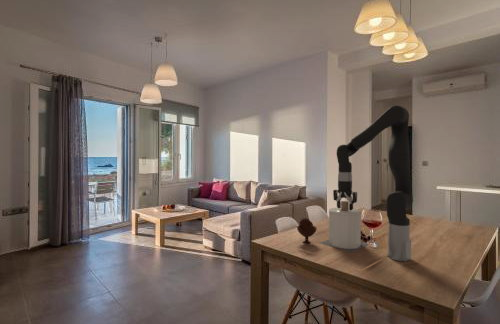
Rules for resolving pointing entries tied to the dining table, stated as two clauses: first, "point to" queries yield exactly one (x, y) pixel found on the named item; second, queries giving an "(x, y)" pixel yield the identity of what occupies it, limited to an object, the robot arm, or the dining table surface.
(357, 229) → the white cylindrical cover
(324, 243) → the mat
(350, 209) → the robot arm
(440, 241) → the dining table surface
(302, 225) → the ice cream bowl
